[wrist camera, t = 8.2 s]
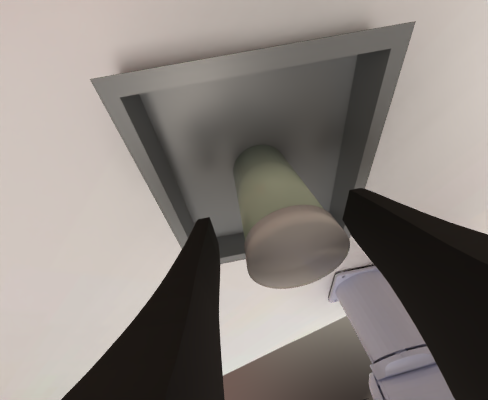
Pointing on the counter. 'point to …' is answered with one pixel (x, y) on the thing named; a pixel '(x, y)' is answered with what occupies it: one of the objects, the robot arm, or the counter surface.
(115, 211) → the counter surface
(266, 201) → the shaker
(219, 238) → the tray
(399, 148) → the counter surface
